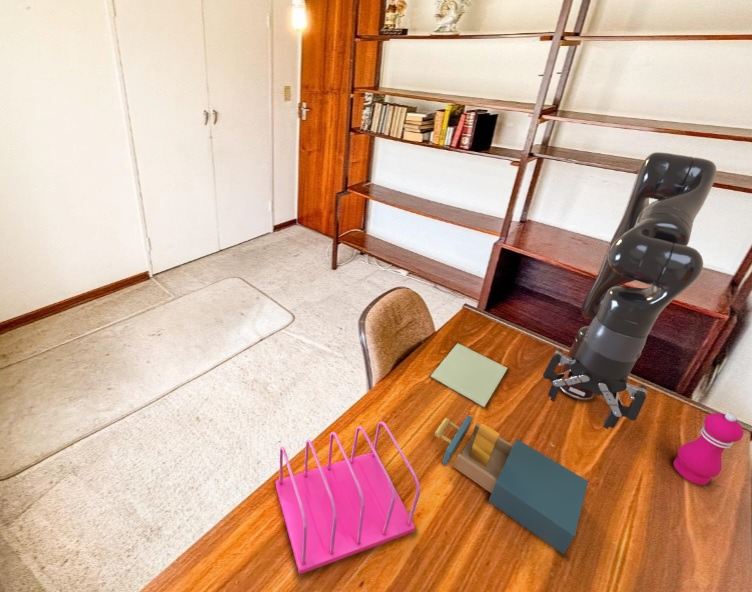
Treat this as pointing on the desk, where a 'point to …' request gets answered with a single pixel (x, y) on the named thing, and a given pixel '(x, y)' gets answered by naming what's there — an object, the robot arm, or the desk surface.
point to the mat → (470, 374)
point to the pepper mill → (708, 448)
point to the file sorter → (342, 505)
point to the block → (484, 445)
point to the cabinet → (540, 495)
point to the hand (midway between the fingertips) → (578, 411)
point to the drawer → (467, 464)
